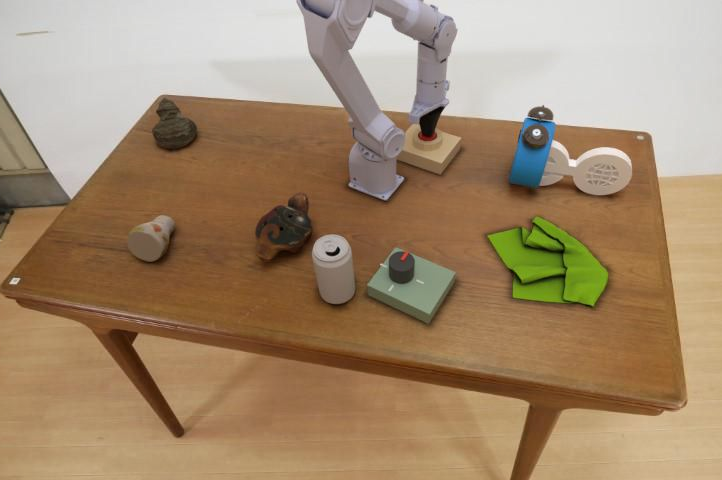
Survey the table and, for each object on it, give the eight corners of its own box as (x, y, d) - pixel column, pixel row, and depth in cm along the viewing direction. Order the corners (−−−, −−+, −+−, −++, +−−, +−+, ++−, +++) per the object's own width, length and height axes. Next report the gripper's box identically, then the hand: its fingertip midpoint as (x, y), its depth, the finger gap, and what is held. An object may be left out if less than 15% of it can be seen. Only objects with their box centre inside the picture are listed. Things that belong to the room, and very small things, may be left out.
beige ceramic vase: (188, 224, 98) (172, 211, 88) (171, 270, 96) (153, 261, 86) (152, 214, 97) (132, 199, 88) (134, 259, 96) (113, 249, 86)
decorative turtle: (328, 221, 96) (324, 194, 90) (290, 280, 89) (283, 254, 82) (286, 207, 99) (279, 179, 92) (246, 262, 91) (235, 236, 85)
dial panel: (366, 294, 85) (365, 283, 82) (394, 256, 90) (394, 245, 88) (428, 324, 80) (429, 313, 78) (454, 282, 86) (456, 271, 83)
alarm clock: (534, 202, 97) (553, 140, 85) (503, 196, 99) (518, 134, 87) (542, 162, 105) (561, 100, 93) (514, 157, 106) (529, 96, 95)
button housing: (392, 158, 108) (392, 139, 104) (413, 134, 113) (413, 115, 109) (440, 175, 104) (442, 156, 100) (460, 149, 109) (462, 130, 105)
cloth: (608, 318, 80) (613, 310, 78) (475, 290, 84) (477, 281, 82) (608, 231, 92) (612, 222, 90) (492, 210, 96) (494, 202, 95)
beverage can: (328, 312, 83) (320, 268, 73) (314, 286, 86) (304, 241, 77) (361, 297, 84) (357, 252, 75) (346, 272, 88) (340, 226, 79)
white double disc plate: (620, 191, 98) (640, 151, 90) (620, 199, 97) (640, 159, 89) (510, 174, 103) (520, 135, 95) (509, 181, 102) (519, 141, 94)
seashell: (203, 100, 115) (165, 96, 116) (177, 99, 104) (134, 95, 105) (204, 148, 119) (167, 144, 120) (179, 152, 108) (138, 148, 109)
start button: (416, 143, 106) (416, 136, 104) (423, 134, 108) (423, 128, 106) (430, 148, 104) (431, 141, 103) (438, 139, 106) (438, 132, 105)
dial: (406, 287, 82) (407, 273, 79) (384, 277, 83) (383, 263, 80) (418, 270, 84) (419, 255, 81) (396, 260, 85) (396, 246, 82)
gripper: (432, 100, 89) (428, 159, 99) (465, 64, 96) (458, 122, 107) (399, 90, 91) (399, 149, 102) (434, 56, 99) (430, 114, 109)
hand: (427, 134), depth 105 cm, fingers closed, pressing on start button
